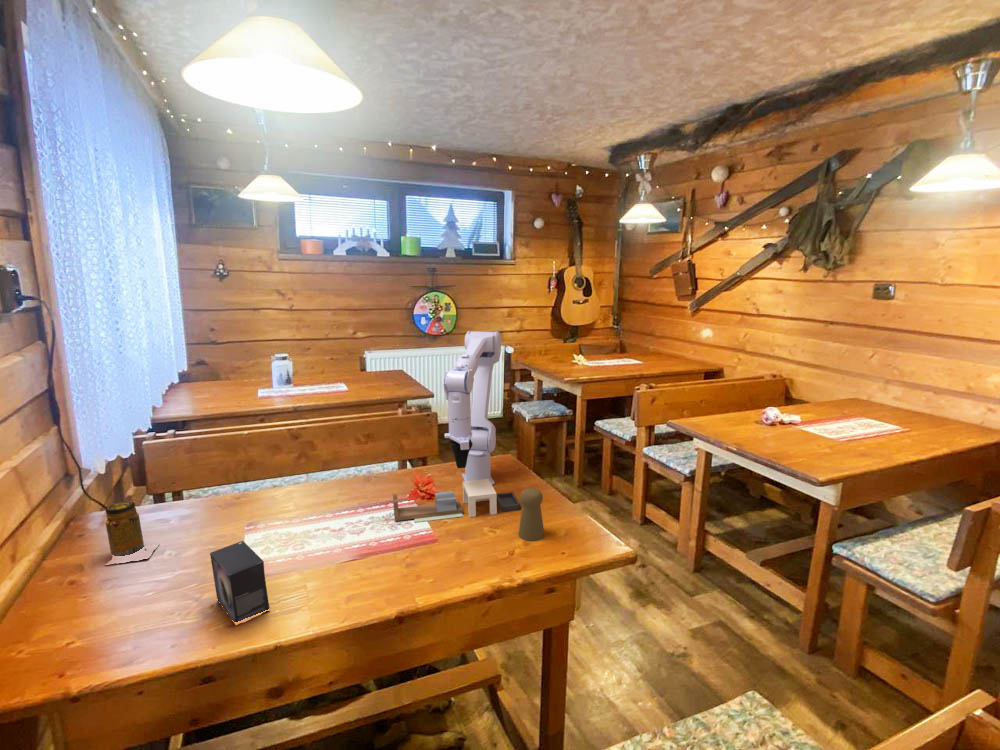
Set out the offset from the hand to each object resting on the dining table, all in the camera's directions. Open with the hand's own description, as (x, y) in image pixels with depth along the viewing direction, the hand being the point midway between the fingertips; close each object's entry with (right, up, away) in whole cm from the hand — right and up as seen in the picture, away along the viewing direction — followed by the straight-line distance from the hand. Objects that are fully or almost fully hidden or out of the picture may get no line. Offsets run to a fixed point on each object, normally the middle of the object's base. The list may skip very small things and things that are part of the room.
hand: (461, 467), depth 139 cm
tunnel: (+5, -11, 0) cm, 12 cm away
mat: (-6, -11, -2) cm, 13 cm away
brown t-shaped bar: (-8, -11, -3) cm, 14 cm away
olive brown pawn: (+17, -14, -14) cm, 26 cm away
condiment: (-71, -16, -20) cm, 76 cm away
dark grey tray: (+12, -10, +2) cm, 16 cm away
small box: (-38, -20, -39) cm, 58 cm away
